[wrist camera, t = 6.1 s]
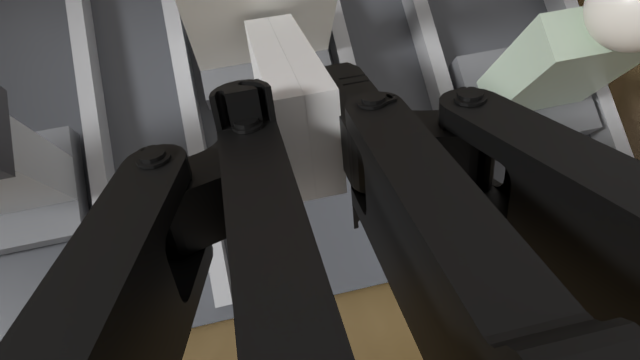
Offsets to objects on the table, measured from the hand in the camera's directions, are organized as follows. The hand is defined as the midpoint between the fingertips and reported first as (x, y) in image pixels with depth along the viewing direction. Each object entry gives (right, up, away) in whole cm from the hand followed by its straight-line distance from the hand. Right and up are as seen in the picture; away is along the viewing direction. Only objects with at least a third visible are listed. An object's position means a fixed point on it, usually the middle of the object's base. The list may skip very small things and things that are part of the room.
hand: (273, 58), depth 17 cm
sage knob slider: (+10, -1, +4) cm, 11 cm away
